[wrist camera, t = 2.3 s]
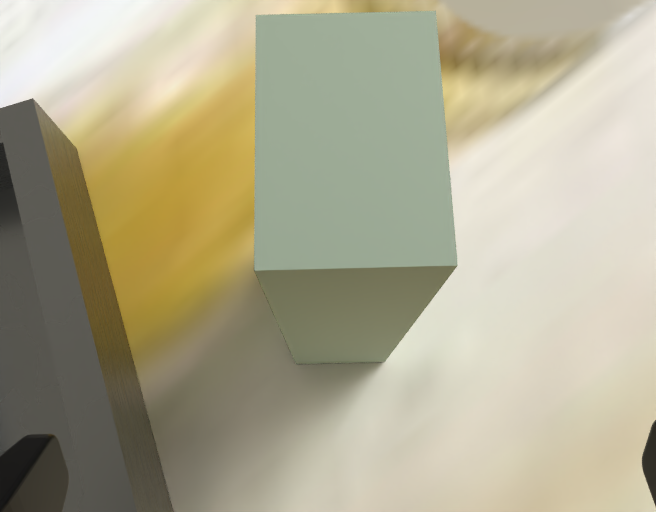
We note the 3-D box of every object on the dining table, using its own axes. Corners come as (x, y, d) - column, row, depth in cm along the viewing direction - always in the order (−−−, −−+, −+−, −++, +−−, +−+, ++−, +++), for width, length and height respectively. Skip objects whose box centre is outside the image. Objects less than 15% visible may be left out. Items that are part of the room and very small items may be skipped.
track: (196, 598, 19) (167, 633, 16) (-25, 683, 19) (-105, 739, 15) (76, 148, 23) (32, 98, 20) (-108, 205, 23) (-186, 164, 19)
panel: (378, 238, 23) (435, 10, 11) (384, 362, 21) (457, 265, 9) (294, 240, 23) (255, 15, 10) (295, 364, 21) (254, 270, 9)
